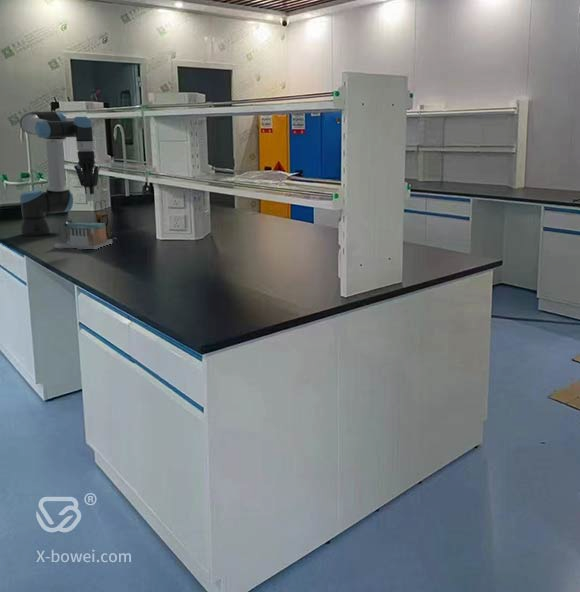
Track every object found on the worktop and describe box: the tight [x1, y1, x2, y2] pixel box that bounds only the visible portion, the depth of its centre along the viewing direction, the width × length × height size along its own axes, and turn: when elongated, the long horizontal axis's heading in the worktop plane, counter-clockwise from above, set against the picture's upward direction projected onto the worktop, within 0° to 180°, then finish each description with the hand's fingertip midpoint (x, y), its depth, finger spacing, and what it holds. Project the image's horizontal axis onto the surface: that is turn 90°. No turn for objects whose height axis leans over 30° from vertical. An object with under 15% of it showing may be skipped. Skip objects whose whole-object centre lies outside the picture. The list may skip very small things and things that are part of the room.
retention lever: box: [64, 221, 105, 228], centre depth 304 cm, size 21×6×2 cm, turn 74°
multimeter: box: [94, 199, 117, 240], centre depth 323 cm, size 15×10×20 cm
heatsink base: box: [54, 219, 114, 251], centre depth 305 cm, size 22×16×12 cm
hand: (90, 200), depth 299 cm, fingers closed
